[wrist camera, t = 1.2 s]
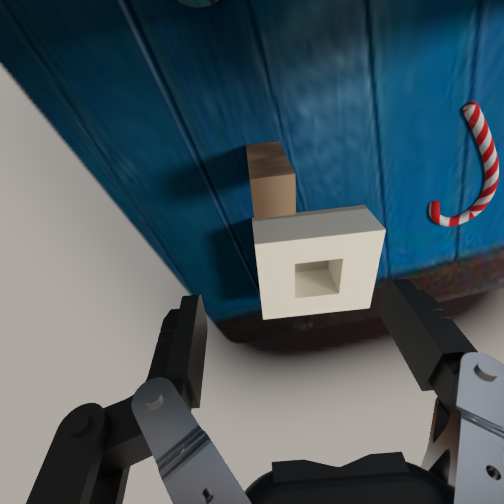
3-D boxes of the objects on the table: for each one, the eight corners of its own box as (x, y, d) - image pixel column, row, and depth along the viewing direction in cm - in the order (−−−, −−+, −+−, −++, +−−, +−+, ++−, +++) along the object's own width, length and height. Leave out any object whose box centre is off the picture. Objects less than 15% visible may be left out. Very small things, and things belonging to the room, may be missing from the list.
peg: (278, 140, 30) (295, 173, 21) (279, 173, 32) (295, 214, 24) (245, 144, 30) (250, 179, 22) (249, 176, 32) (254, 218, 24)
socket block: (364, 204, 34) (385, 229, 30) (353, 278, 41) (369, 308, 37) (251, 217, 35) (254, 244, 30) (259, 288, 42) (263, 319, 37)
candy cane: (510, 87, 27) (497, 213, 35) (500, 86, 28) (490, 208, 36) (427, 123, 29) (433, 235, 37) (420, 120, 30) (428, 230, 38)
